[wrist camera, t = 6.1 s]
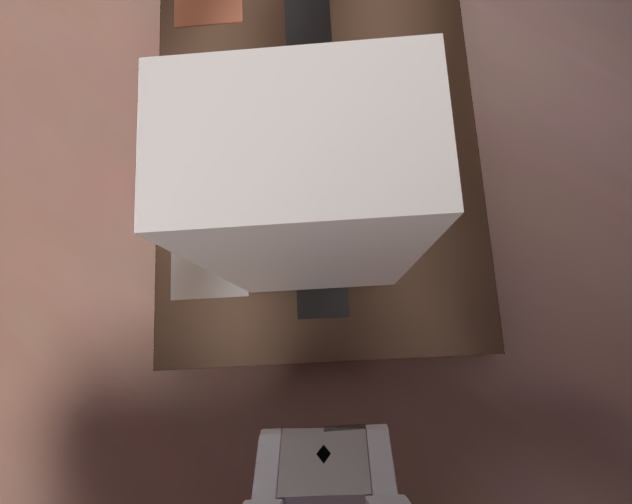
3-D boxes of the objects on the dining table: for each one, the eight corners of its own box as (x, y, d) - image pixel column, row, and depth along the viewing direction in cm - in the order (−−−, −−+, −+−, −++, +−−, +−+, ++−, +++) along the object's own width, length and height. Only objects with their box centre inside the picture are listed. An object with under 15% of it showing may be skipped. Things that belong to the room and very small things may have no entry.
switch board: (430, -135, 21) (437, -172, 19) (489, 352, 16) (505, 353, 15) (175, -110, 21) (162, -145, 20) (169, 368, 17) (152, 370, 16)
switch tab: (387, 201, 16) (443, 33, 7) (393, 284, 15) (464, 212, 7) (249, 210, 16) (139, 57, 7) (250, 292, 16) (133, 233, 7)
